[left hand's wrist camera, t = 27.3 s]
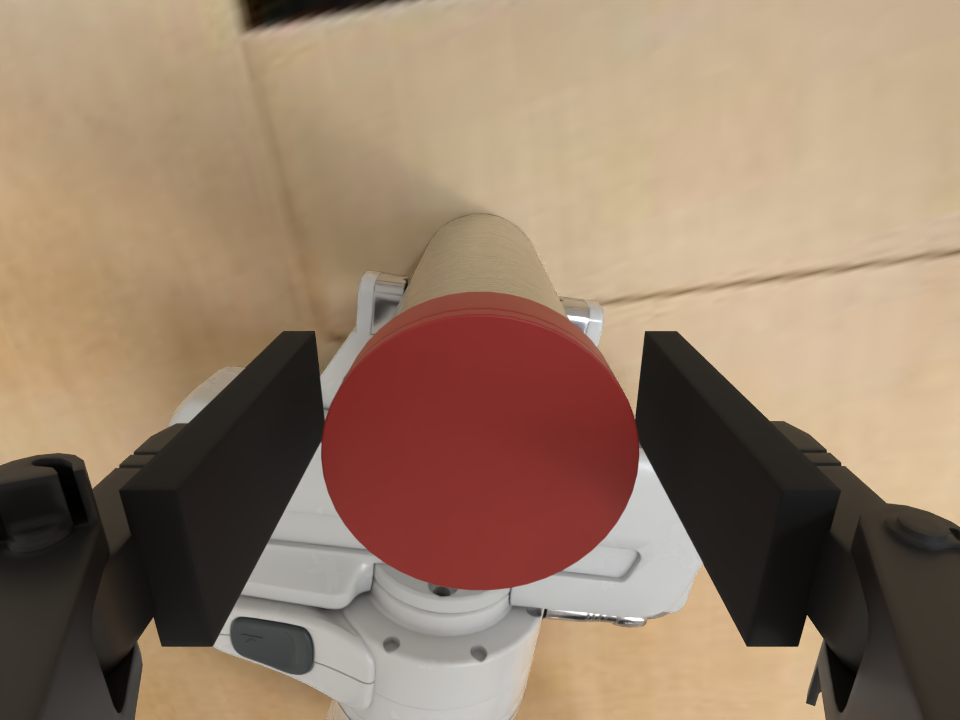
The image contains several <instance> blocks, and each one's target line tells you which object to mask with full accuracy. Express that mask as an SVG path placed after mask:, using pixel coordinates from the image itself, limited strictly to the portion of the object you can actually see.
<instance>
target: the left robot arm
mask: <svg viewBox="0 0 960 720" xmlns="http://www.w3.org/2000/svg"><path fill="white" fill-rule="evenodd" d="M635 421H636V427H637V432H638V437H639V443H640V445H641V447H642V449H643V451H644V452H645V454H646V456H647V458H648V460H649V462H650V464H651V466H652V468H653V470H654V471H655V473H656V475H657V477H658V479H659V481H660V483H661V485H662V487H663V488H664V490H665V492H666V494H667V496H668V498H669V500H670V502H671V504H672V505H673V507H674V509H675V511H676V513H677V515H678V517H679V519H680V521H681V523H682V524H683V526H684V528H685V530H686V532H687V534H688V536H689V538H690V540H691V541H692V543H693V545H694V547H695V549H696V551H697V553H698V555H699V557H700V559H701V560H702V562H703V564H704V566H705V568H706V570H707V572H708V574H709V576H710V577H711V579H712V581H713V583H714V585H715V587H716V589H717V591H718V593H719V595H720V596H721V598H722V600H723V602H724V604H725V606H726V608H727V610H728V612H729V613H730V615H731V617H732V619H733V621H734V623H735V625H736V627H737V629H738V630H739V632H740V634H741V636H742V638H743V640H744V642H745V644H746V646H747V647H798V645H799V642H800V638H801V635H802V631H803V627H804V624H805V620H806V616H807V615H808V617H809V618H810V620H811V621H812V622H813V624H814V625H815V627H816V628H817V630H818V631H819V633H820V634H821V635H822V637H823V638H824V639H823V642H822V646H821V649H820V652H819V656H818V659H817V662H816V666H815V669H814V673H813V676H812V679H811V683H810V686H809V689H808V694H807V701H806V703H807V704H810V705H813V706H815V704H816V701H817V698H818V694H819V693H820V692H822V697H823V704H824V711H825V717H826V720H960V527H959V526H957V525H956V524H954V523H953V522H951V521H949V520H946V519H944V518H942V517H940V516H937V515H935V514H933V513H930V512H928V511H924V510H920V509H917V508H913V507H910V506H906V505H897V504H888V503H886V502H885V501H883V500H882V499H881V498H880V497H879V496H878V495H877V494H876V493H875V492H873V491H872V490H871V489H870V488H869V487H868V486H867V485H866V484H864V483H863V482H862V481H861V480H860V479H859V478H858V477H857V476H855V475H854V474H853V473H852V472H851V471H850V470H849V469H848V468H846V467H845V466H841V462H840V461H839V460H837V459H836V458H835V457H834V456H833V455H832V454H831V453H827V450H826V449H825V448H824V447H823V446H822V445H821V444H820V443H818V442H817V441H816V440H815V439H814V438H813V437H812V436H811V435H809V434H808V433H806V432H804V431H802V430H800V429H798V428H796V427H794V426H792V425H790V424H788V423H786V422H784V421H769V420H768V419H767V418H766V417H765V416H764V415H763V414H762V413H761V412H760V411H759V410H758V409H757V408H756V407H755V406H754V405H752V404H751V403H750V402H749V401H748V400H747V399H746V398H745V397H744V396H743V395H742V394H741V393H740V392H739V391H738V390H737V389H736V388H735V387H734V386H733V385H732V384H731V383H730V382H729V381H728V380H727V379H726V378H725V377H724V376H723V375H721V374H720V373H719V372H718V371H717V370H716V369H715V368H714V367H713V366H712V365H711V364H710V363H709V362H708V361H707V360H706V359H705V358H704V357H703V356H702V355H701V354H700V353H699V352H698V351H697V350H696V349H695V348H694V347H693V346H691V345H690V344H689V343H688V342H687V341H686V340H685V339H684V338H683V337H682V336H681V335H680V334H679V333H678V332H677V331H645V337H644V346H643V354H642V363H641V372H640V381H639V390H638V399H637V408H636V417H635ZM324 423H325V417H324V408H323V399H322V390H321V381H320V372H319V363H318V354H317V346H316V337H315V331H283V332H282V333H281V334H280V335H279V336H278V337H277V338H276V339H275V340H274V341H273V342H272V343H271V344H270V345H269V346H267V347H266V348H265V349H264V350H263V351H262V352H261V353H260V354H259V355H258V356H257V357H256V358H255V359H254V360H253V361H252V362H251V363H250V364H249V365H248V366H247V367H246V368H245V369H244V370H243V371H242V372H241V373H240V374H239V375H237V376H236V377H235V378H234V379H233V380H232V381H231V382H230V383H229V384H228V385H227V386H226V387H225V388H224V389H223V390H222V391H221V392H220V393H219V394H218V395H217V396H216V397H215V398H214V399H213V400H212V401H211V402H210V403H209V404H208V405H206V406H205V407H204V408H203V409H202V410H201V411H200V412H199V413H198V414H197V415H196V416H195V417H194V418H193V419H192V420H191V421H190V422H189V423H176V424H174V425H172V426H170V427H168V428H166V429H164V430H163V431H161V432H159V433H157V434H155V435H153V436H151V437H150V438H149V439H148V440H147V441H145V442H144V443H143V444H142V445H141V446H140V447H139V448H138V449H137V450H135V451H134V455H130V456H129V457H128V458H127V459H125V460H124V461H123V462H122V463H121V464H120V465H119V466H120V467H119V468H115V469H114V470H113V471H112V472H111V473H110V474H109V475H108V476H107V477H105V478H104V479H103V480H102V481H101V482H100V483H99V484H98V485H97V486H95V487H94V488H93V489H92V487H91V484H90V480H89V477H88V473H87V470H86V467H85V463H84V460H82V459H80V458H79V457H77V456H75V455H70V454H61V453H55V454H45V455H36V456H32V457H28V458H23V459H19V460H15V461H12V462H9V463H6V464H3V465H1V466H0V720H134V719H135V712H136V706H137V699H138V692H139V686H140V679H141V672H142V666H143V665H142V658H141V652H140V649H139V646H138V642H137V640H138V639H139V637H140V636H141V634H142V633H143V631H144V630H145V628H146V627H147V626H148V624H149V623H150V621H151V620H152V618H153V617H154V620H155V624H156V627H157V631H158V635H159V638H160V642H161V645H162V647H213V646H214V644H215V642H216V640H217V638H218V636H219V634H220V632H221V630H222V629H223V627H224V625H225V623H226V621H227V619H228V617H229V615H230V613H231V612H232V610H233V608H234V606H235V604H236V602H237V600H238V598H239V596H240V595H241V593H242V591H243V589H244V587H245V585H246V583H247V581H248V579H249V577H250V576H251V574H252V572H253V570H254V568H255V566H256V564H257V562H258V560H259V559H260V557H261V555H262V553H263V551H264V549H265V547H266V545H267V543H268V541H269V540H270V538H271V536H272V534H273V532H274V530H275V528H276V526H277V524H278V523H279V521H280V519H281V517H282V515H283V513H284V511H285V509H286V507H287V505H288V504H289V502H290V500H291V498H292V496H293V494H294V492H295V490H296V488H297V487H298V485H299V483H300V481H301V479H302V477H303V475H304V473H305V471H306V470H307V468H308V466H309V464H310V462H311V460H312V458H313V456H314V454H315V452H316V451H317V449H318V447H319V445H320V443H321V439H322V434H323V428H324Z"/></svg>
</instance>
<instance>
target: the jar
mask: <svg viewBox="0 0 960 720" xmlns="http://www.w3.org/2000/svg"><path fill="white" fill-rule="evenodd" d="M464 292H496V293H504V294H511V295H515V296H519V297H522V298H526V299H530V300H532V301H535V302H537V303H540V304H542V305H545V306H547V307H549V308H551V309H552V310H554V311H556V312H558V313H559V314H561V315H563V316H564V317H566V318H567V319H568V320H570V319H569V317H568V315H567V313H566V311H565V309H564V307H563V305H562V303H561V301H560V299H559V297H558V295H557V293H556V291H555V289H554V287H553V285H552V283H551V281H550V279H549V278H548V276H547V274H546V272H545V270H544V268H543V266H542V264H541V262H540V260H539V258H538V256H537V254H536V252H535V250H534V248H533V246H532V244H531V242H530V241H529V239H528V238H527V236H526V235H525V234H524V233H523V232H522V231H521V230H520V229H519V228H518V227H517V226H515V225H514V224H512V223H511V222H509V221H507V220H505V219H503V218H500V217H498V216H494V215H489V214H472V215H466V216H463V217H460V218H457V219H455V220H453V221H451V222H449V223H448V224H446V225H445V226H444V227H442V228H441V229H440V230H439V231H438V232H437V233H436V234H435V235H434V236H433V238H432V239H431V241H430V242H429V244H428V246H427V248H426V250H425V252H424V254H423V256H422V258H421V260H420V262H419V264H418V266H417V268H416V270H415V272H414V274H413V276H412V278H411V280H410V282H409V284H408V286H407V288H406V290H405V292H404V294H403V296H402V298H401V300H400V302H399V304H398V306H397V308H396V310H395V312H394V314H393V316H392V318H391V320H392V319H393V318H394V317H396V316H398V315H399V314H401V313H403V312H404V311H406V310H408V309H410V308H411V307H414V306H416V305H418V304H421V303H423V302H426V301H428V300H431V299H434V298H438V297H442V296H445V295H449V294H457V293H464ZM391 320H390V321H391Z"/></svg>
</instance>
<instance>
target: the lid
mask: <svg viewBox="0 0 960 720" xmlns="http://www.w3.org/2000/svg"><path fill="white" fill-rule="evenodd" d="M321 462H322V470H323V477H324V480H325V484H326V487H327V491H328V494H329V496H330V499H331V501H332V503H333V505H334V508H335V510H336V512H337V513H338V515H339V516H340V518H341V520H342V521H343V523H344V525H345V526H346V527H347V528H348V530H349V531H350V532H351V533H352V535H353V536H354V537H355V538H356V539H357V540H358V541H359V542H360V543H361V544H362V545H363V546H364V547H365V548H366V549H367V550H368V551H369V552H371V553H372V554H373V555H375V556H376V557H377V558H379V559H380V560H381V561H383V562H384V563H386V564H387V565H389V566H391V567H393V568H394V569H396V570H398V571H400V572H402V573H404V574H406V575H409V576H411V577H413V578H415V579H418V580H421V581H424V582H427V583H431V584H434V585H438V586H443V587H448V588H453V589H463V590H497V589H507V588H513V587H517V586H522V585H527V584H530V583H533V582H536V581H539V580H542V579H545V578H547V577H550V576H552V575H554V574H556V573H558V572H561V571H563V570H564V569H566V568H568V567H569V566H571V565H573V564H574V563H576V562H578V561H579V560H580V559H582V558H583V557H584V556H586V555H587V554H588V553H590V552H591V551H592V550H593V549H594V548H595V547H596V546H597V545H598V544H599V543H600V542H601V541H602V540H604V539H605V538H606V536H607V535H608V534H609V532H610V531H611V530H612V529H613V527H614V526H615V525H616V524H617V522H618V520H619V519H620V517H621V515H622V514H623V512H624V510H625V509H626V506H627V504H628V502H629V499H630V497H631V495H632V492H633V489H634V485H635V481H636V477H637V473H638V464H639V437H638V432H637V427H636V421H635V418H634V415H633V412H632V409H631V407H630V404H629V401H628V399H627V398H626V396H625V394H624V392H623V390H622V388H621V386H620V385H619V383H618V381H617V379H616V378H615V376H614V374H613V372H612V371H611V369H610V367H609V365H608V364H607V362H606V360H605V358H604V357H603V355H602V354H601V352H600V351H599V350H598V348H597V347H596V346H595V344H594V343H593V341H592V340H591V339H590V338H589V337H588V336H587V335H586V334H585V333H584V332H583V331H582V330H581V329H580V328H579V327H578V326H576V325H575V324H574V323H572V322H571V321H570V320H568V319H567V318H566V317H564V316H563V315H561V314H559V313H558V312H556V311H554V310H552V309H551V308H549V307H547V306H545V305H542V304H540V303H537V302H535V301H532V300H530V299H526V298H522V297H519V296H515V295H511V294H504V293H496V292H464V293H457V294H449V295H445V296H442V297H438V298H434V299H431V300H428V301H426V302H423V303H421V304H418V305H416V306H414V307H411V308H410V309H408V310H406V311H404V312H403V313H401V314H399V315H398V316H396V317H394V318H393V319H392V320H391V321H389V322H388V323H387V324H385V325H384V326H383V327H382V328H380V329H379V330H378V331H377V332H376V333H375V334H374V336H373V337H372V338H371V339H370V340H369V341H368V342H367V343H366V344H365V346H364V347H363V349H362V350H361V351H360V353H359V354H358V356H357V357H356V359H355V361H354V362H353V364H352V366H351V368H350V369H349V371H348V373H347V375H346V376H345V378H344V380H343V382H342V383H341V385H340V387H339V389H338V391H337V393H336V395H335V396H334V398H333V400H332V402H331V405H330V407H329V410H328V413H327V416H326V419H325V423H324V428H323V434H322V439H321Z"/></svg>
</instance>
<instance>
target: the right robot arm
mask: <svg viewBox="0 0 960 720" xmlns="http://www.w3.org/2000/svg"><path fill="white" fill-rule="evenodd" d="M408 284H409V276H402V275H395V274H389V273H381V272H377V271H366V273H365V274H364V275H363V276H362V277H361V281H360V285H359V290H358V304H357V320H356V326H355V327H354V329H353V330H352V331H351V333H350V334H349V336H348V337H347V338H346V340H345V341H344V343H343V344H342V345H341V347H340V348H339V350H338V351H337V352H336V354H335V355H334V357H333V358H332V359H331V361H330V362H329V364H328V365H327V367H326V368H325V370H324V371H323V373H322V374H321V376H320V381H321V390H322V399H323V408H324V417H325V419H326V416H327V413H328V410H329V407H330V405H331V402H332V400H333V398H334V396H335V395H336V393H337V391H338V389H339V387H340V385H341V383H342V382H343V380H344V378H345V376H346V375H347V373H348V371H349V369H350V368H351V366H352V364H353V362H354V361H355V359H356V357H357V356H358V354H359V353H360V351H361V350H362V349H363V347H364V346H365V344H366V343H367V342H368V341H369V340H370V339H371V338H372V337H373V336H374V334H375V333H376V332H377V331H378V330H379V329H380V328H382V327H383V326H384V325H385V324H387V323H388V322H389V321H390V320H391V318H392V316H393V314H394V312H395V310H396V308H397V306H398V304H399V302H400V300H401V298H402V296H403V294H404V292H405V290H406V288H407V286H408ZM558 297H559V296H558ZM559 299H560V301H561V303H562V305H563V307H564V309H565V311H566V313H567V315H568V317H569V319H570V321H571V322H572V323H574V324H575V325H576V326H578V327H579V328H580V329H581V330H582V331H583V332H584V333H585V334H586V335H587V336H588V337H589V338H590V339H591V340H592V341H593V343H594V344H595V346H596V347H597V348H598V345H599V341H600V336H601V332H602V327H603V323H604V311H603V308H602V307H601V306H600V304H599V303H598V302H597V301H591V300H583V299H576V298H567V297H559ZM244 369H245V368H244V367H236V366H229V367H225V368H222V369H220V370H218V371H217V372H216V373H214V374H213V375H212V376H210V377H209V378H208V379H207V380H205V381H204V382H203V383H201V384H200V385H199V386H198V387H196V388H195V389H194V390H193V391H192V392H191V393H190V394H189V395H188V396H187V397H186V398H185V399H184V400H183V401H182V403H181V404H180V405H179V406H178V407H177V409H176V410H175V411H174V413H173V415H172V417H171V419H170V422H169V426H168V427H170V426H172V425H174V424H176V423H189V422H190V421H191V420H192V419H193V418H194V417H195V416H196V415H197V414H198V413H199V412H200V411H201V410H202V409H203V408H204V407H205V406H206V405H208V404H209V403H210V402H211V401H212V400H213V399H214V398H215V397H216V396H217V395H218V394H219V393H220V392H221V391H222V390H223V389H224V388H225V387H226V386H227V385H228V384H229V383H230V382H231V381H232V380H233V379H234V378H235V377H236V376H237V375H239V374H240V373H241V372H242V371H243V370H244ZM635 417H636V416H634V418H635ZM702 565H703V562H702V560H701V559H700V557H699V555H698V553H697V551H696V549H695V547H694V545H693V543H692V541H691V540H690V538H689V536H688V534H687V532H686V530H685V528H684V526H683V524H682V523H681V521H680V519H679V517H678V515H677V513H676V511H675V509H674V507H673V505H672V504H671V502H670V500H669V498H668V496H667V494H666V492H665V490H664V488H663V487H662V485H661V483H660V481H659V479H658V477H657V475H656V473H655V471H654V470H653V468H652V466H651V464H650V462H649V460H648V458H647V456H646V454H645V452H644V451H643V449H642V447H641V445H640V443H639V464H638V473H637V477H636V481H635V485H634V489H633V492H632V495H631V497H630V499H629V502H628V504H627V506H626V509H625V510H624V512H623V514H622V515H621V517H620V519H619V520H618V522H617V524H616V525H615V526H614V527H613V529H612V530H611V531H610V532H609V534H608V535H607V536H606V538H605V539H604V540H602V541H601V542H600V543H599V544H598V545H597V546H596V547H595V548H594V549H593V550H592V551H591V552H590V553H588V554H587V555H586V556H584V557H583V558H582V559H580V560H579V561H578V562H576V563H574V564H573V565H571V566H569V567H568V568H566V569H564V570H563V571H561V572H558V573H556V574H554V575H552V576H550V577H547V578H545V579H542V580H539V581H536V582H533V583H530V584H527V585H522V586H517V587H513V588H507V589H497V590H463V589H453V588H448V587H443V586H438V585H434V584H431V583H427V582H424V581H421V580H418V579H415V578H413V577H411V576H409V575H406V574H404V573H402V572H400V571H398V570H396V569H394V568H393V567H391V566H389V565H387V564H386V563H384V562H383V561H381V560H380V559H379V558H377V557H376V556H375V555H373V554H372V553H371V552H369V551H368V550H367V549H366V548H365V547H364V546H363V545H362V544H361V543H360V542H359V541H358V540H357V539H356V538H355V537H354V536H353V535H352V533H351V532H350V531H349V530H348V528H347V527H346V526H345V525H344V523H343V521H342V520H341V518H340V516H339V515H338V513H337V512H336V510H335V508H334V505H333V503H332V501H331V499H330V496H329V494H328V491H327V487H326V484H325V480H324V477H323V470H322V462H321V443H320V445H319V447H318V449H317V451H316V452H315V454H314V456H313V458H312V460H311V462H310V464H309V466H308V468H307V470H306V471H305V473H304V475H303V477H302V479H301V481H300V483H299V485H298V487H297V488H296V490H295V492H294V494H293V496H292V498H291V500H290V502H289V504H288V505H287V507H286V509H285V511H284V513H283V515H282V517H281V519H280V521H279V523H278V524H277V526H276V528H275V530H274V532H273V534H272V536H271V538H270V540H269V541H268V543H267V545H266V547H265V549H264V551H263V553H262V555H261V557H260V559H259V560H258V562H257V564H256V566H255V568H254V570H253V572H252V574H251V576H250V577H249V579H248V581H247V583H246V585H245V587H244V589H243V591H242V593H241V595H240V596H239V598H238V600H237V602H236V604H235V606H234V608H233V610H232V612H231V613H230V615H229V617H228V619H227V621H226V623H225V625H224V627H223V629H222V630H221V632H220V634H219V636H218V638H217V640H216V642H215V644H214V646H213V647H214V648H215V649H217V650H219V651H222V652H224V653H227V654H230V655H232V656H235V657H238V658H241V659H244V660H247V661H250V662H253V663H256V664H259V665H261V666H264V667H267V668H270V669H272V670H275V671H277V672H280V673H282V674H285V675H287V676H289V677H292V678H294V679H296V680H298V681H301V682H303V683H305V684H307V685H309V686H311V687H313V688H315V689H316V690H318V691H320V692H322V693H323V694H325V695H327V696H329V697H330V698H332V701H331V703H330V707H329V710H328V713H327V719H326V720H513V719H514V717H515V716H516V714H517V712H518V709H519V707H520V705H521V703H522V700H523V697H524V693H525V690H526V686H527V682H528V677H529V673H530V669H531V664H532V660H533V656H534V652H535V647H536V643H537V639H538V634H539V630H540V626H541V622H542V619H543V618H544V619H554V620H564V621H573V622H591V621H592V622H597V621H598V622H607V623H613V624H614V625H617V626H621V627H641V626H644V625H645V624H646V622H647V619H654V618H658V617H662V616H664V615H667V614H669V613H675V612H677V611H679V610H680V609H681V608H682V607H683V606H684V604H685V602H686V601H687V598H688V595H689V593H690V590H691V587H692V584H693V581H694V578H695V576H696V575H697V573H698V571H699V570H700V568H701V567H702Z"/></svg>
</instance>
